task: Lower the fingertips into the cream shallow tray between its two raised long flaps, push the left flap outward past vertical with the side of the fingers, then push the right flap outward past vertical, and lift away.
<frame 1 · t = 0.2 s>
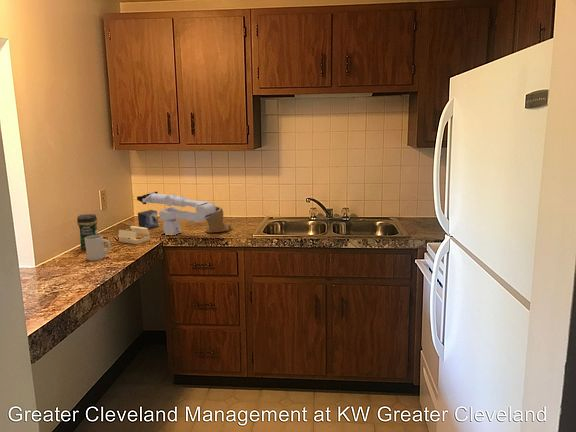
hand: (142, 197, 273), 21 cm above the countertop, tool horizontal, fingers open, 7 cm apart
cream shallow tray: (134, 241, 258), on the countertop
left flap: (127, 234, 253), point 5 cm above the countertop, hinge at 70.0°
mug: (100, 258, 230), on the countertop
right flap: (140, 230, 260), point 5 cm above the countertop, hinge at 70.0°
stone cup: (218, 232, 270), on the countertop
small box: (149, 228, 286), on the countertop
coffee jar: (91, 248, 248), on the countertop
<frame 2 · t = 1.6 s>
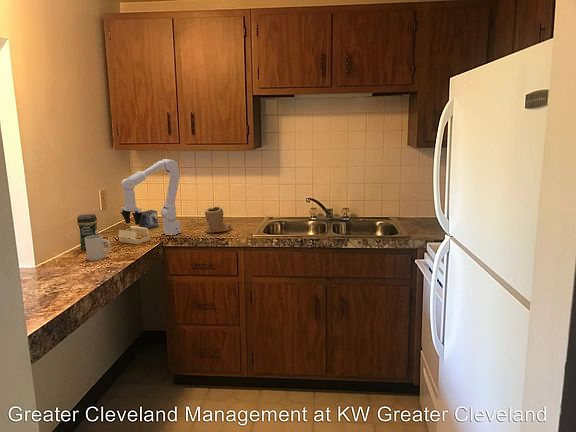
hand: (132, 224, 255), 10 cm above the countertop, tool pointing down, fingers open, 7 cm apart
nothing on the countertop moved.
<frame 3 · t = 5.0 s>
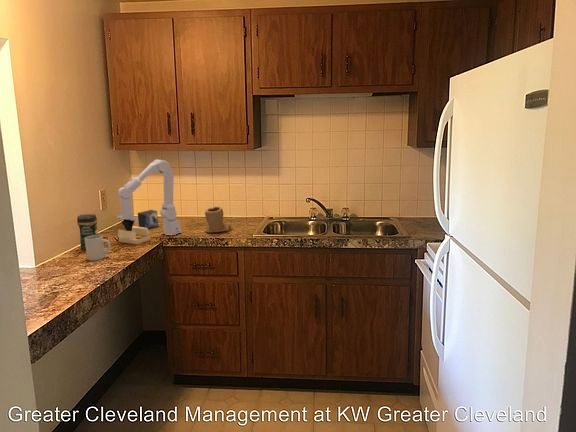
hand: (129, 232, 254), 6 cm above the countertop, tool pointing down, fingers closed, pressing on left flap
left flap: (126, 234, 252), point 5 cm above the countertop, hinge at 82.9°, touching gripper
everything else where it was.
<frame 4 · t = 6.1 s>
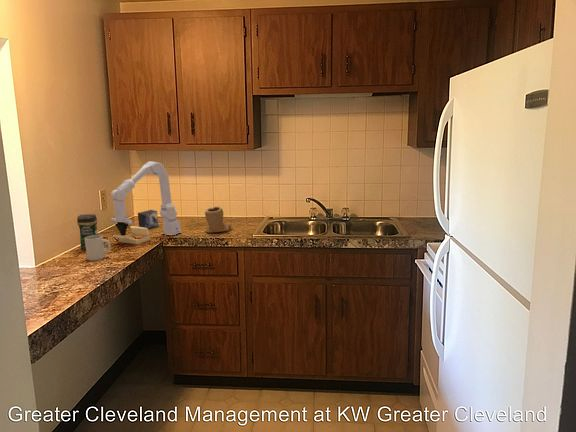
hand: (123, 235, 250), 5 cm above the countertop, tool pointing down, fingers closed, pressing on left flap
left flap: (124, 237, 251), point 4 cm above the countertop, hinge at 153.3°, touching gripper
everything else where it was.
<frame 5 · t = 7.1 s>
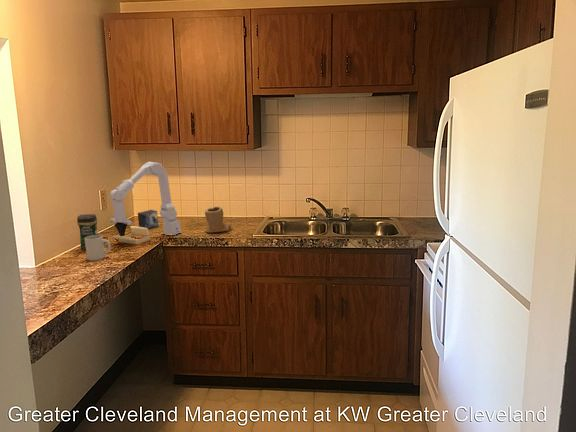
hand: (122, 235, 250), 5 cm above the countertop, tool pointing down, fingers closed
left flap: (124, 237, 251), point 4 cm above the countertop, hinge at 162.4°
everything else where it was.
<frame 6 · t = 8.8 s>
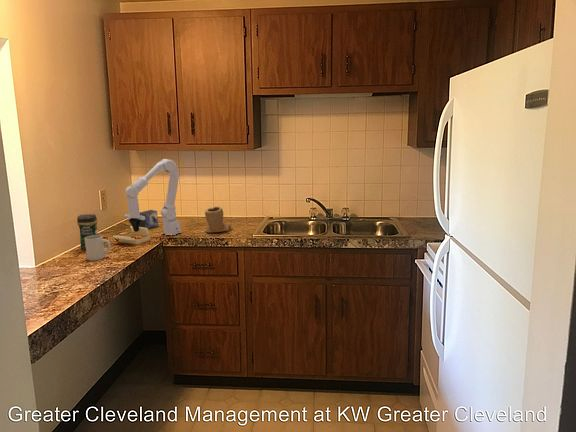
hand: (136, 231, 258), 5 cm above the countertop, tool pointing down, fingers closed, pressing on right flap
left flap: (124, 237, 251), point 4 cm above the countertop, hinge at 163.0°
right flap: (140, 230, 260), point 5 cm above the countertop, hinge at 70.1°, touching gripper
everything else where it was.
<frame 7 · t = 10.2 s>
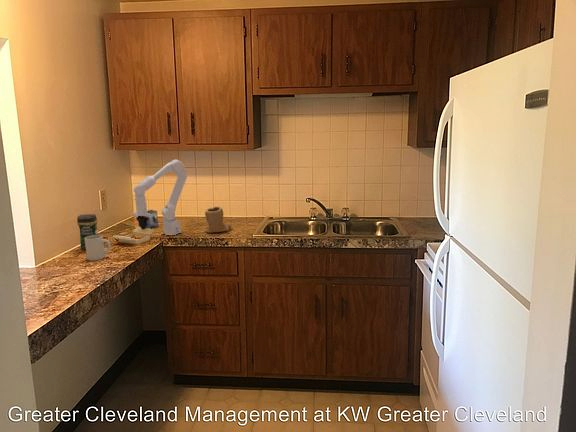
hand: (143, 228, 263), 5 cm above the countertop, tool pointing down, fingers closed, pressing on right flap
right flap: (143, 230, 263), point 4 cm above the countertop, hinge at 149.6°, touching gripper
everything else where it was.
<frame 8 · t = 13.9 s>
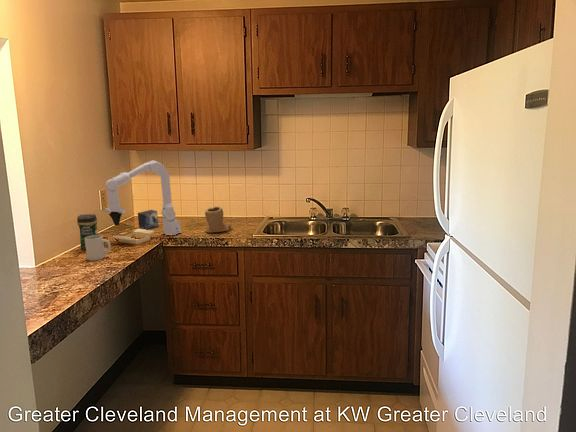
hand: (117, 225, 255), 10 cm above the countertop, tool pointing down, fingers closed
right flap: (143, 231, 263), point 4 cm above the countertop, hinge at 170.8°
everything else where it was.
at the end: left flap at +163° (first picture: +70°); right flap at +171° (first picture: +70°) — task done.
